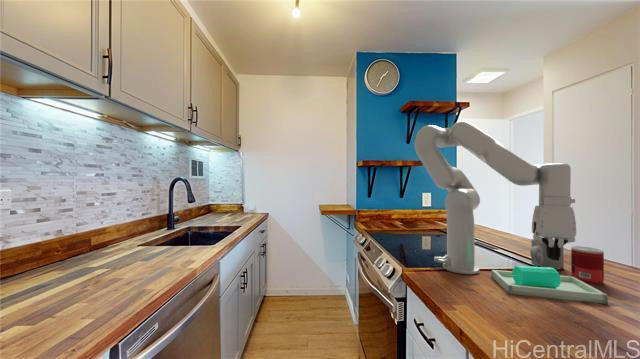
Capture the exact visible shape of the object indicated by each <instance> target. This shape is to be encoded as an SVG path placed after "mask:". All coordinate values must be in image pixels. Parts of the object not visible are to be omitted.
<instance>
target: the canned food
mask: <svg viewBox="0 0 640 359" xmlns="http://www.w3.org/2000/svg"><path fill="white" fill-rule="evenodd" d="M570 249H571V250H570V252H571V253H570V254H571V255H570V257H571V258H570V260H571V261H570V262H571V266H570V267H571V269H570V271H571V275H570V276H573V277H575V278H577V279H578V280H580V281H582V282H584V283H586V284H593V285H603V284H604V282H605V278H604V277H605V276H604V274H605V273H604V272H605V266H604V265H605V253H604V250H602V249H600V248H595V247H589V246H579V245H578V246H577V245H575V246H571V248H570Z"/></svg>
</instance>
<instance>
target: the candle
mask: <svg viewBox="0 0 640 359" xmlns="http://www.w3.org/2000/svg"><path fill="white" fill-rule="evenodd" d="M557 270H558V269H554V268H548V267H538V266H524V265H516V266H514V267H513V269H512V276H513V279H514V281H515V283H516V284H518V285H522V286H537V287H553V288H557V287H559V286H560V284H561V278H560V275H561V274H560V273H559V272H558V271H557Z"/></svg>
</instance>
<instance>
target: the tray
mask: <svg viewBox="0 0 640 359" xmlns="http://www.w3.org/2000/svg"><path fill="white" fill-rule="evenodd" d="M512 271H513V270H512ZM512 271H510V270H500V269H491V277H492V279H493V280H494V281H496V283H498V285H499V286H501V287H502V289H504V291H505V292H507V293H508V294H509V295H510V294H511V295H518V296H527V297H528V296H529V297H538V298H549V299H557V300H565V301H567V300H568V301H577V302H584V303H585V302H586V303H594V304H595V303H596V304H604V305H607V304H609V303H608V302H609V301H608V300H609V299H608V294H606V293H605V292H602V291H601V290H599V289H598V288H595V287H594V286H592V285H589V283H585V282H582V281H580V280H578V279H577V278H575V277H573V276H572V275H570V276H569V275H561V274H559V275H560V278H561V284H560V286H559V287H557V288H553V287H537V286H522V285H518V284H516V283H515V281H514V279H513V276H512Z"/></svg>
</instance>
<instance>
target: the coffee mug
mask: <svg viewBox="0 0 640 359" xmlns="http://www.w3.org/2000/svg"><path fill="white" fill-rule="evenodd" d="M553 243H554V239H553ZM530 248H531V249H530V253H529V254H530V258H531V264H532V265H533V264H534V265H533V266H535V265H536V266H535V267H538V266H541V267H551V268H563V269H564V246H563V247H562V248H561V256H560V257H559V261H557V260H551V259H549V258H548V256H547V254H546V250H547V246H546V245H545V244H544V243H543V242H542V241H539V240H536V239H534V238H532V239H531V247H530Z"/></svg>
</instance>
